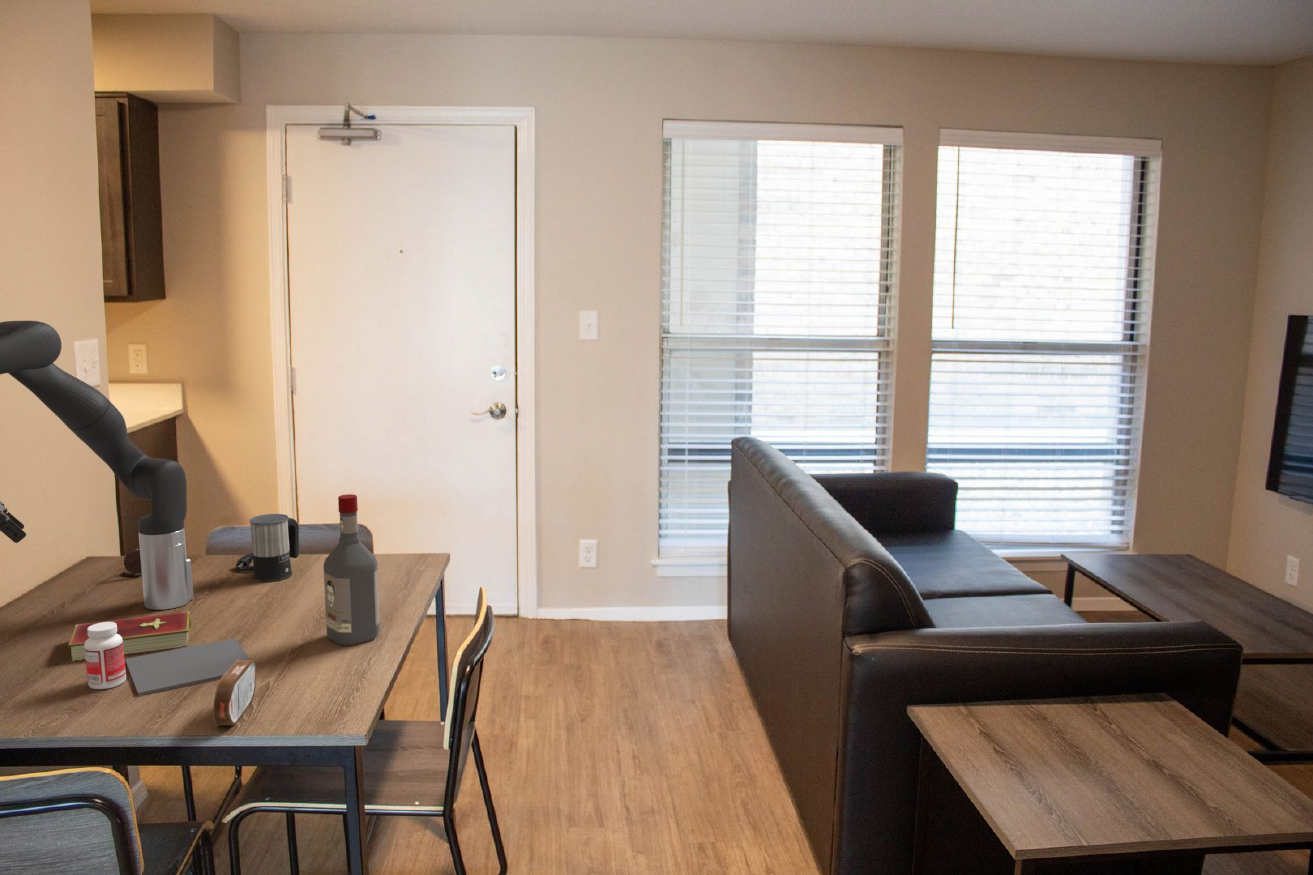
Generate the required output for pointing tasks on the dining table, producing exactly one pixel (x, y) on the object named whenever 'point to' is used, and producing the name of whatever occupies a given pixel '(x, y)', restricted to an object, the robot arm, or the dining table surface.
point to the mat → (183, 666)
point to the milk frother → (271, 547)
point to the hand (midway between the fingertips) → (21, 534)
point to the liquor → (351, 583)
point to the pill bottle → (104, 656)
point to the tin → (234, 692)
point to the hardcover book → (140, 633)
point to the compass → (132, 564)
